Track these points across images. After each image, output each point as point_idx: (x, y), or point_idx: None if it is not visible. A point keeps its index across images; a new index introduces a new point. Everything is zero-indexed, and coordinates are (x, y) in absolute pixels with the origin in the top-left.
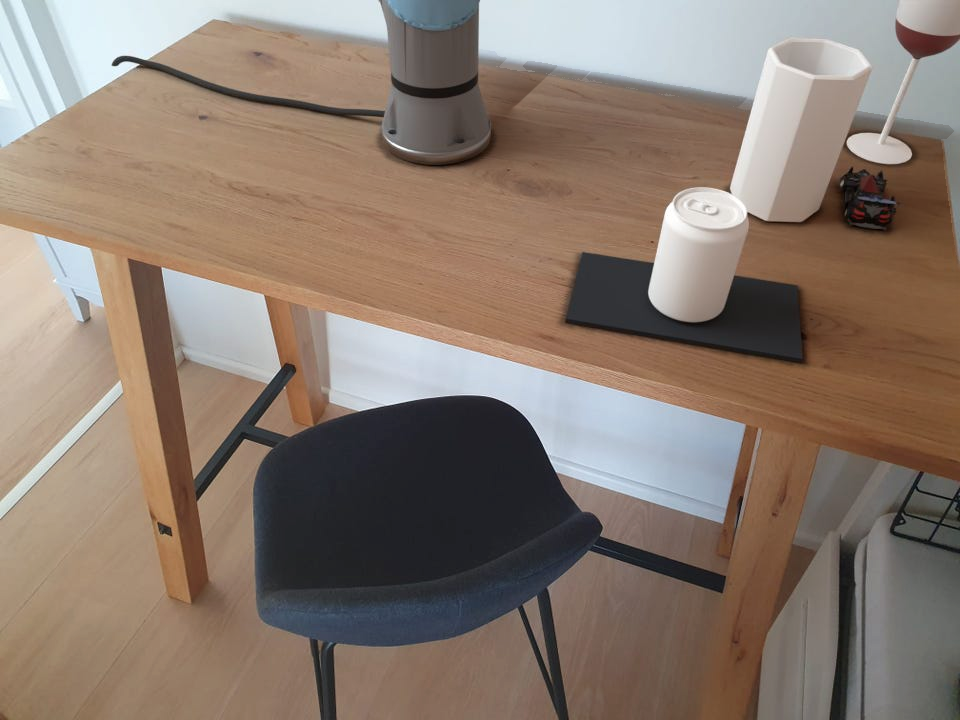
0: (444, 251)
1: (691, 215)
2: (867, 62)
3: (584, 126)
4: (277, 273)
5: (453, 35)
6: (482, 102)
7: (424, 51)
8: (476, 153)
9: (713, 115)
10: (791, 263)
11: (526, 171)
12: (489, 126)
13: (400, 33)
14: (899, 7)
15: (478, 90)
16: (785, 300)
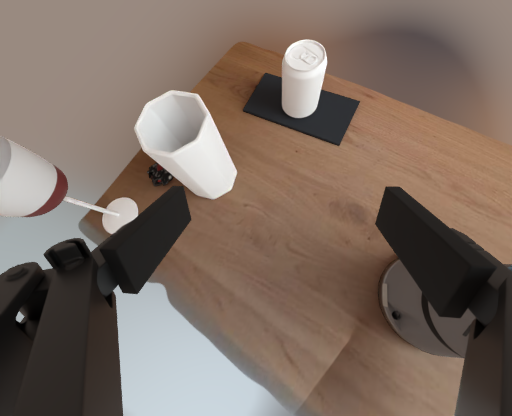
0: (420, 160)
1: (316, 52)
2: (144, 108)
3: (296, 289)
4: None
5: (506, 266)
6: (403, 289)
7: None
8: (393, 261)
9: (193, 282)
10: (234, 127)
11: (355, 234)
12: (385, 283)
13: None
14: (39, 194)
15: (415, 291)
16: (253, 101)
